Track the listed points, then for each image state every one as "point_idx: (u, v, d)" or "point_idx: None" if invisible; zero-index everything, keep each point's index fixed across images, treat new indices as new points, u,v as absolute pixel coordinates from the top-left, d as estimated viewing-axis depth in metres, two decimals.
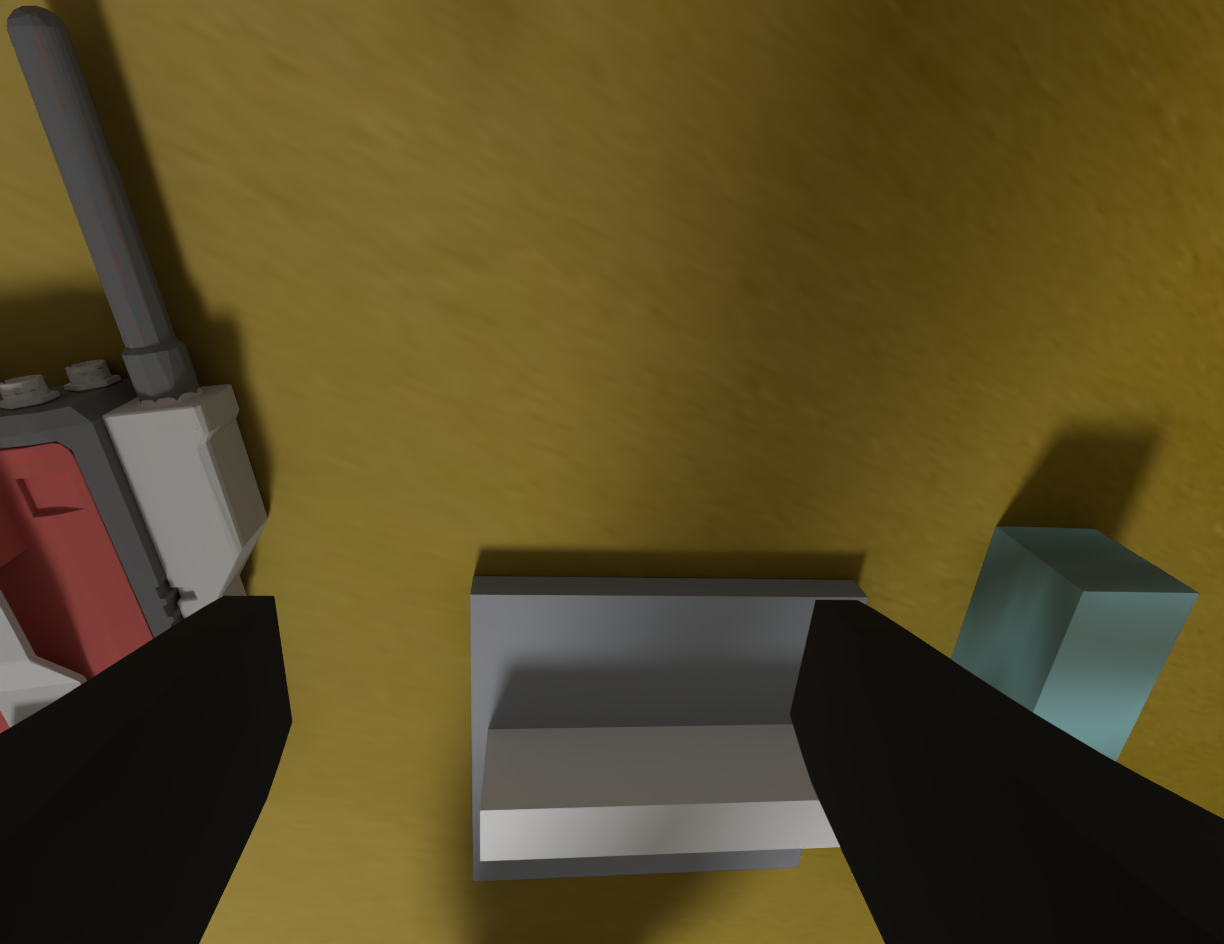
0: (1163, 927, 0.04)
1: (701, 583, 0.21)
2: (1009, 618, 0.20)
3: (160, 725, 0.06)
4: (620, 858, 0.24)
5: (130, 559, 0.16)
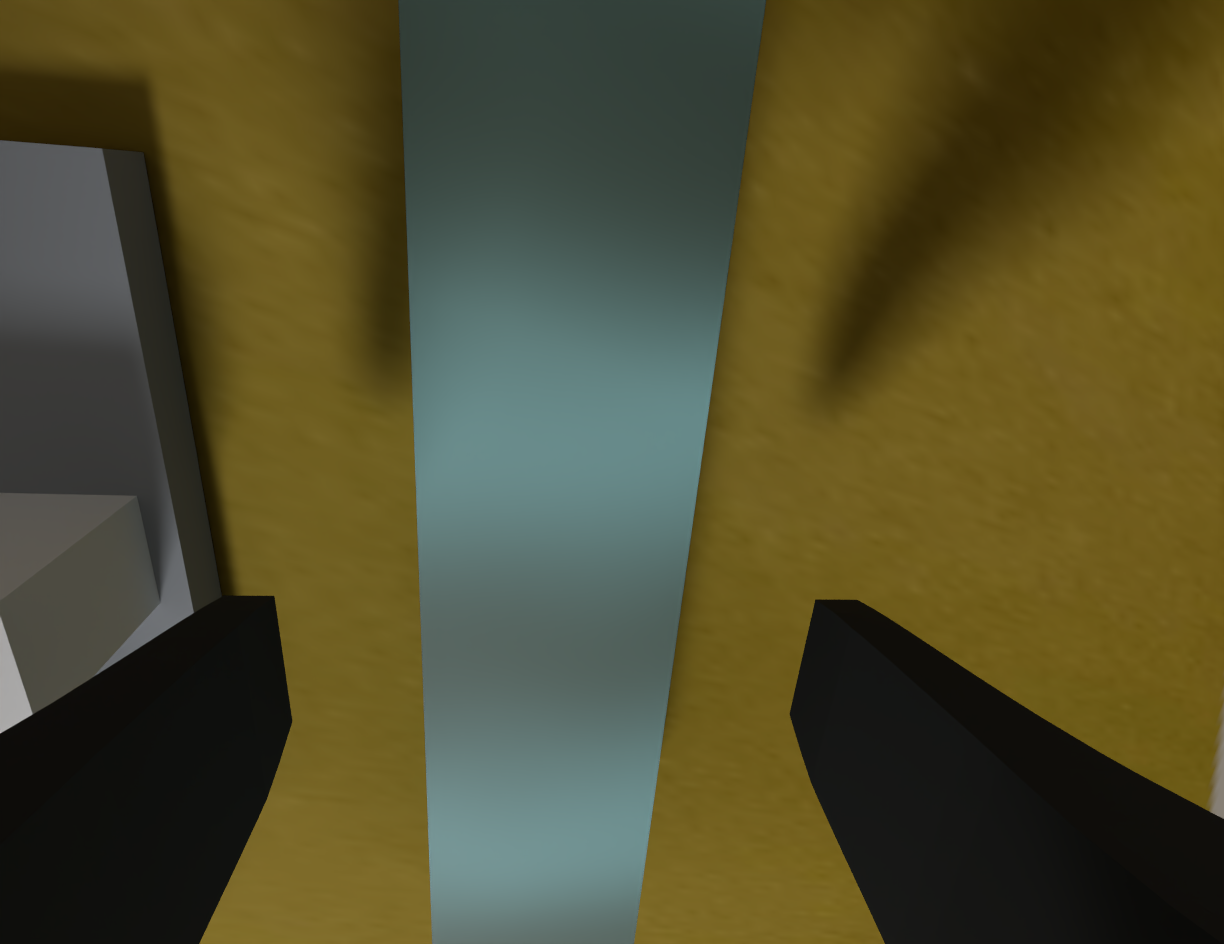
0: (1161, 926, 0.04)
1: None
2: None
3: (160, 725, 0.06)
4: None
5: None
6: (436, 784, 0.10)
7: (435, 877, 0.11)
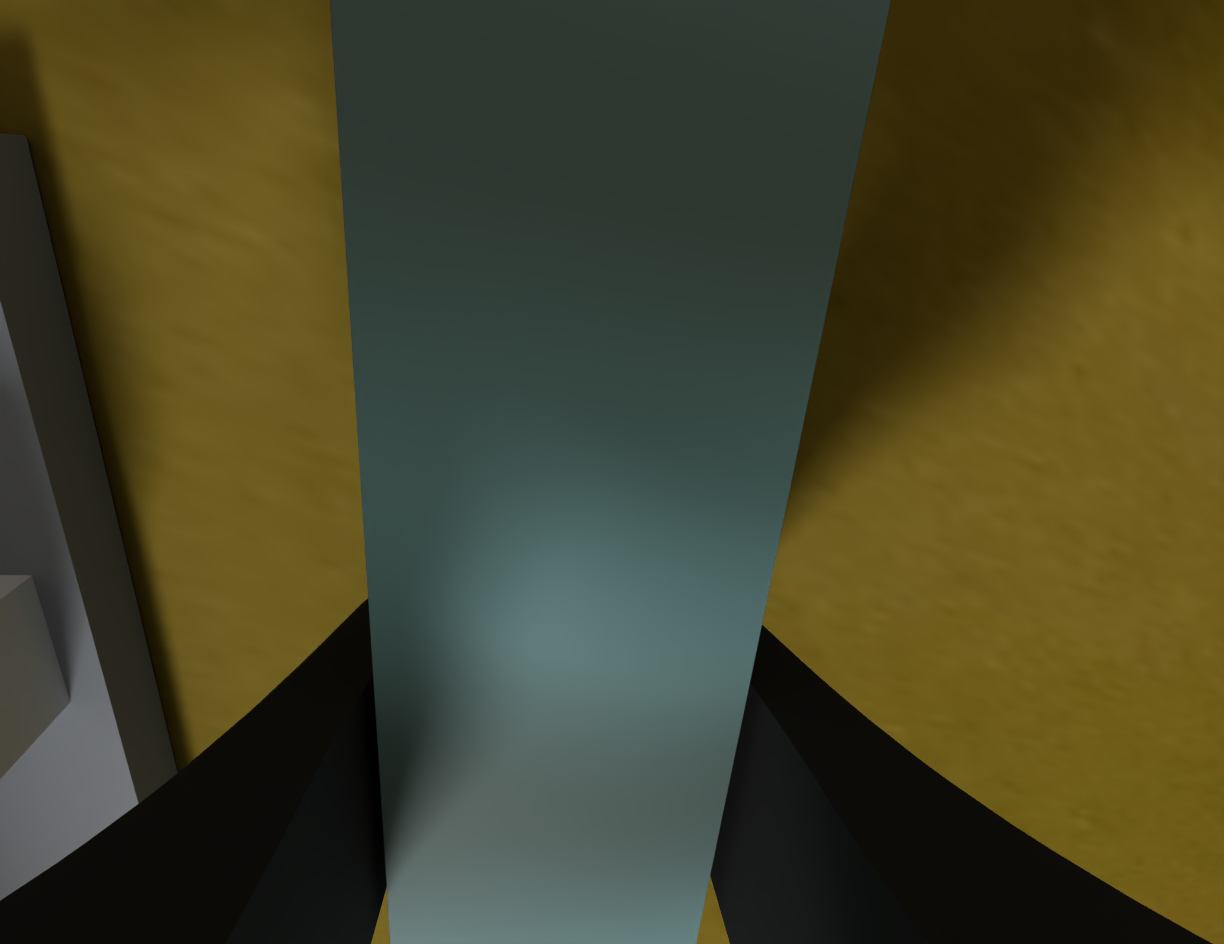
0: (906, 941, 0.04)
1: None
2: None
3: (360, 722, 0.06)
4: None
5: None
6: None
7: None
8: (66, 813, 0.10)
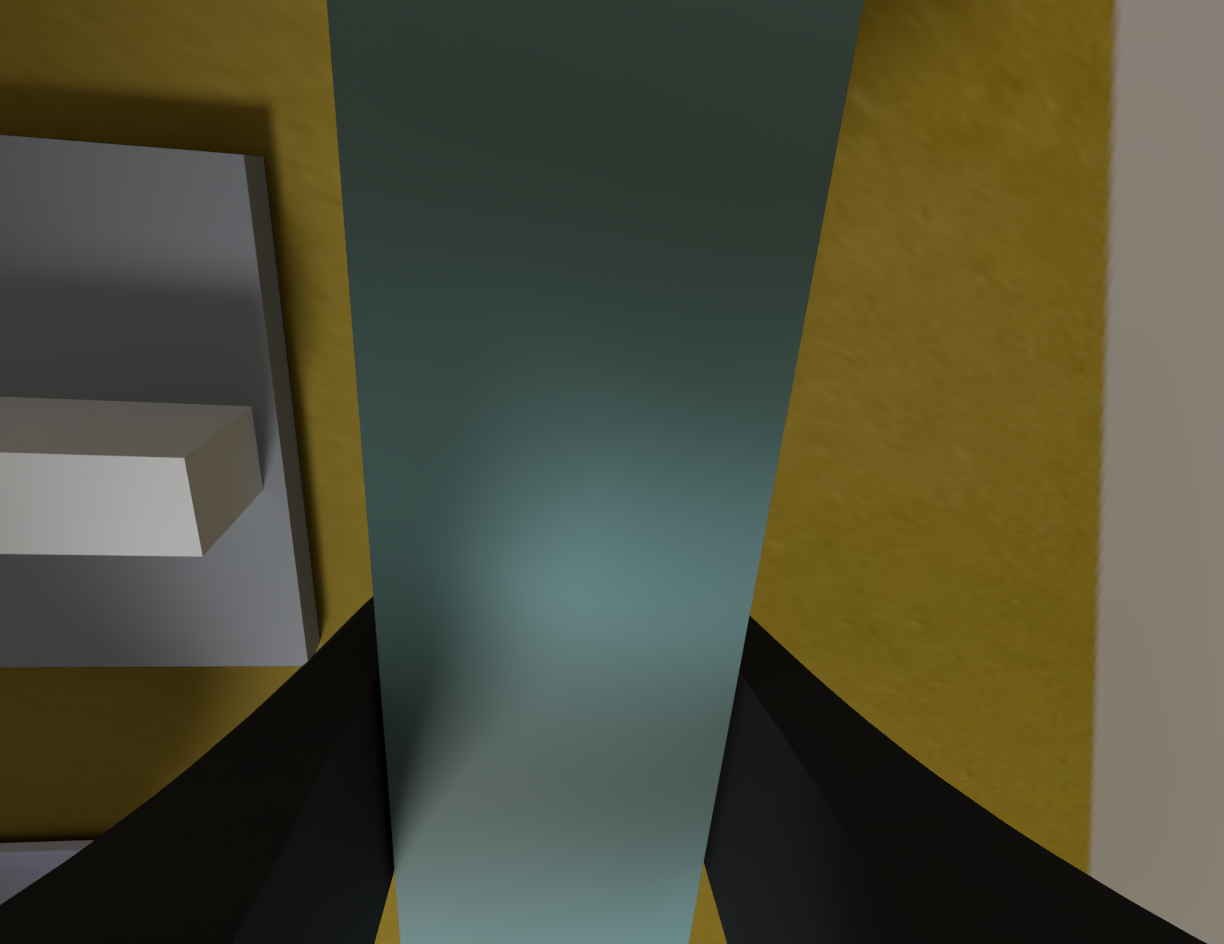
0: (899, 943, 0.04)
1: None
2: None
3: (364, 722, 0.06)
4: (10, 638, 0.16)
5: None
6: (412, 938, 0.08)
7: None
8: (251, 567, 0.16)
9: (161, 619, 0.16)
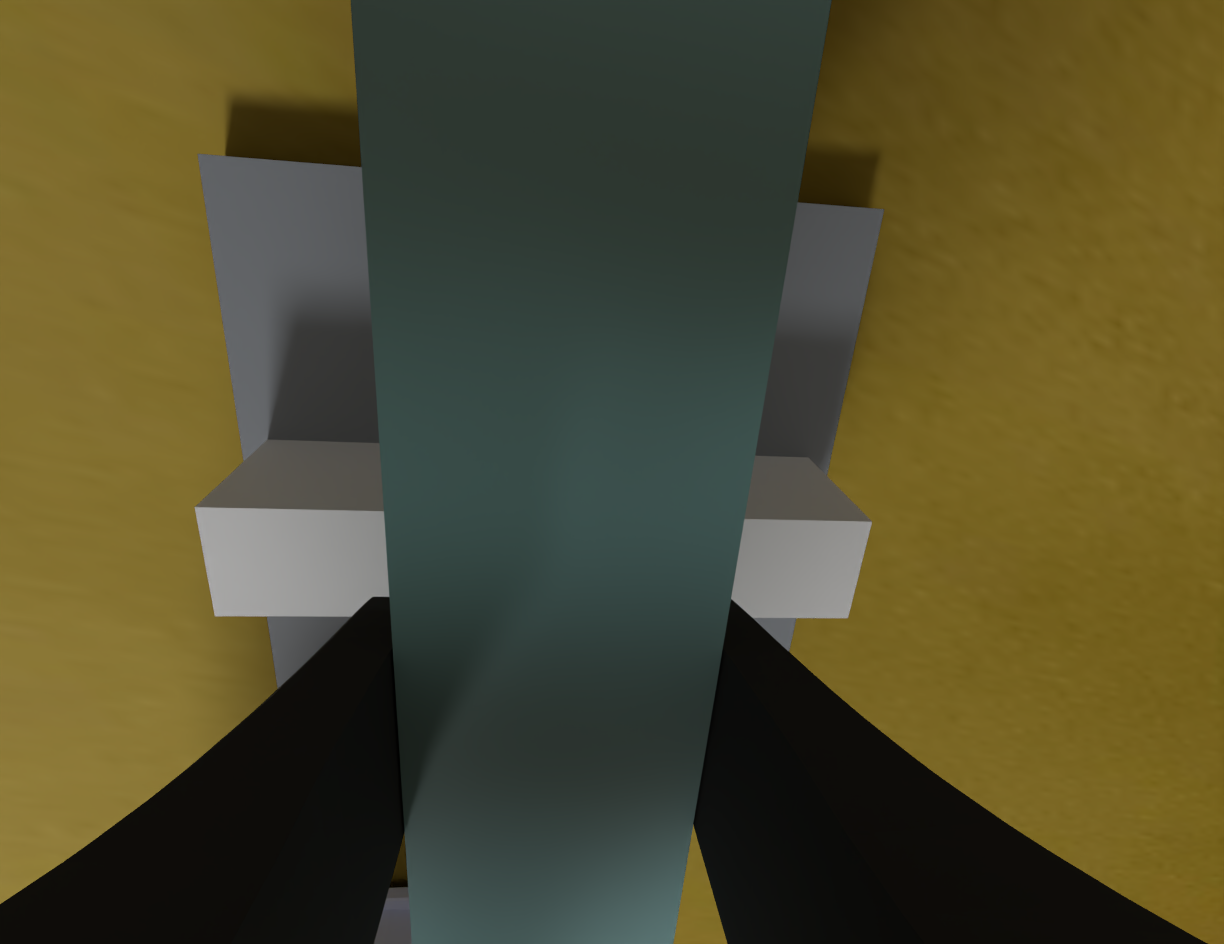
0: None
1: None
2: None
3: (364, 722, 0.06)
4: None
5: None
6: (420, 899, 0.08)
7: None
8: None
9: None
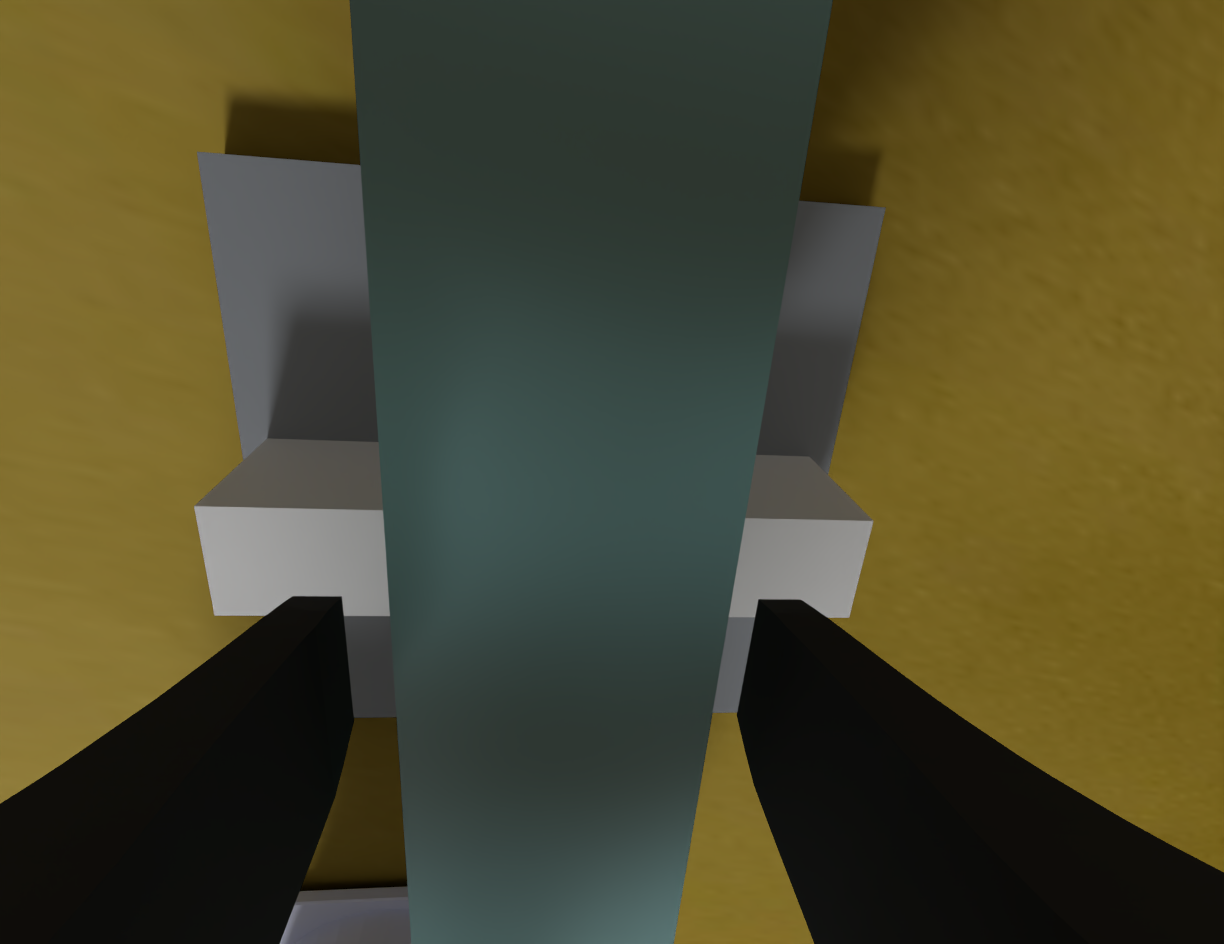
0: (1048, 935, 0.04)
1: None
2: None
3: (255, 724, 0.06)
4: None
5: None
6: (420, 899, 0.08)
7: None
8: None
9: None
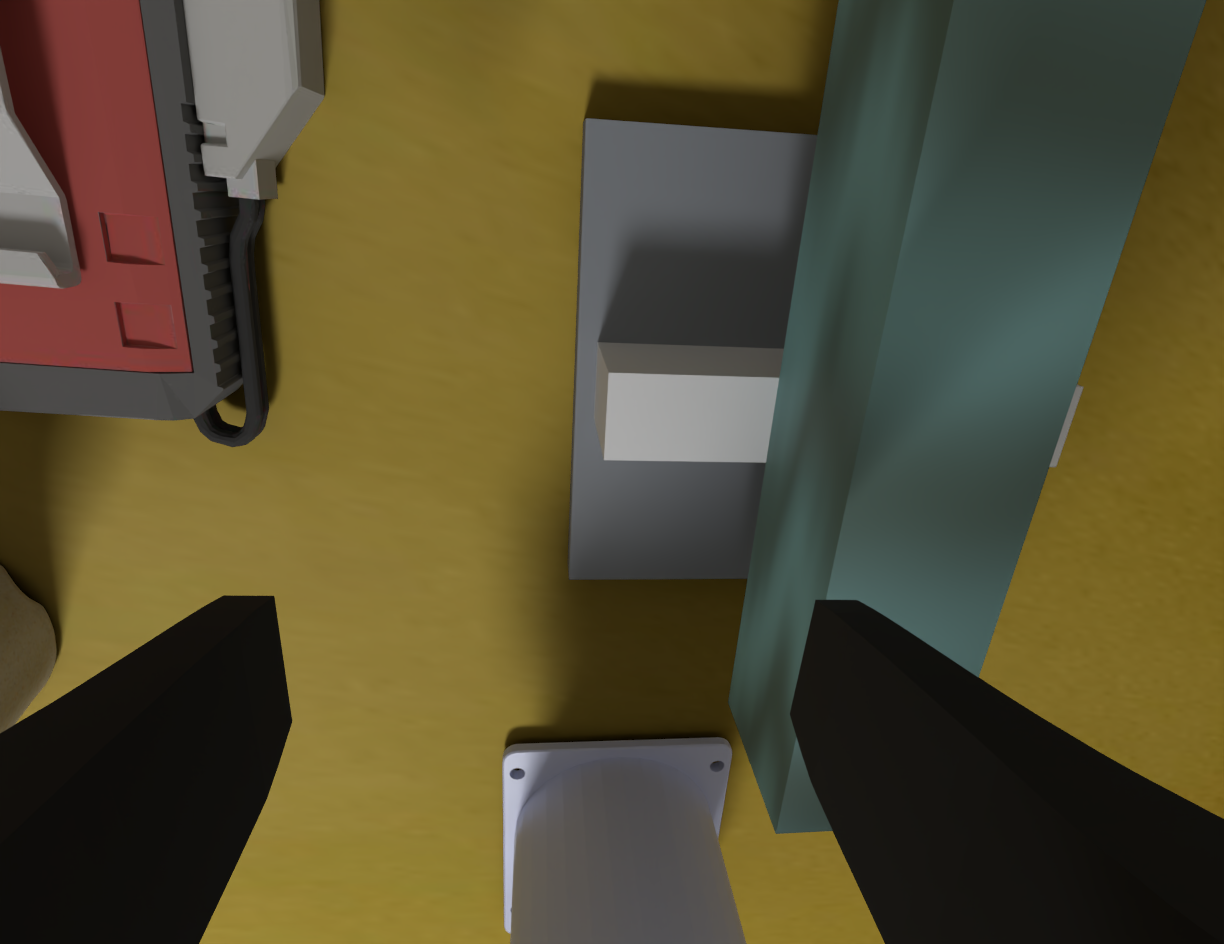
0: (1163, 929, 0.04)
1: None
2: (864, 128, 0.11)
3: (160, 725, 0.06)
4: (745, 553, 0.20)
5: (158, 45, 0.13)
6: None
7: None
8: None
9: None
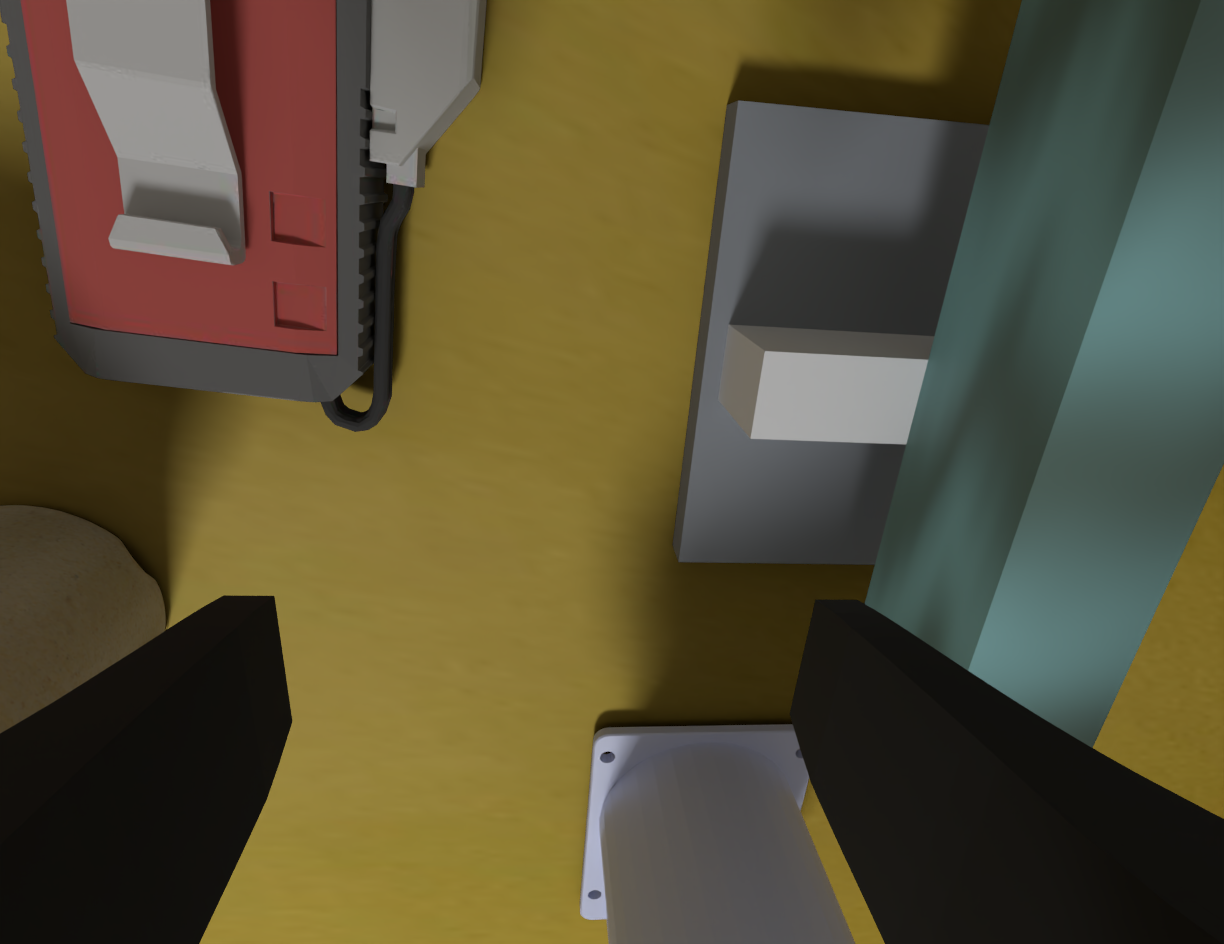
0: (1163, 927, 0.04)
1: None
2: (1065, 109, 0.11)
3: (160, 725, 0.06)
4: (852, 539, 0.20)
5: (347, 30, 0.13)
6: (1002, 592, 0.12)
7: None
8: None
9: None
